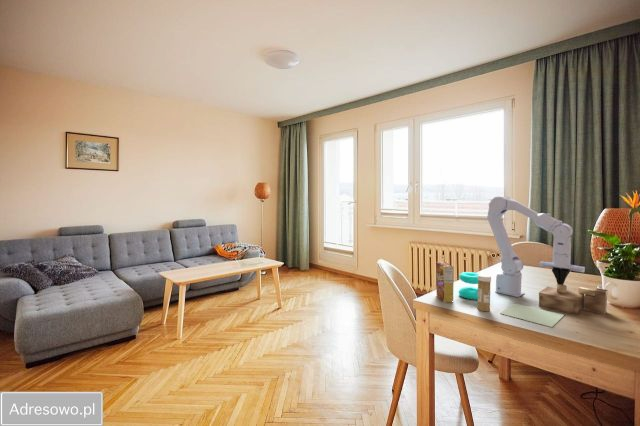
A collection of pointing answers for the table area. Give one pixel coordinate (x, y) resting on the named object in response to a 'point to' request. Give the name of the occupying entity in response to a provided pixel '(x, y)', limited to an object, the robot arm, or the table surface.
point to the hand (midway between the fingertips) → (560, 286)
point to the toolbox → (561, 305)
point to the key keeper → (596, 302)
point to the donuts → (469, 291)
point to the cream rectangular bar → (588, 291)
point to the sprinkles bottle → (484, 292)
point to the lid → (561, 293)
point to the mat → (533, 315)
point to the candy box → (445, 281)
